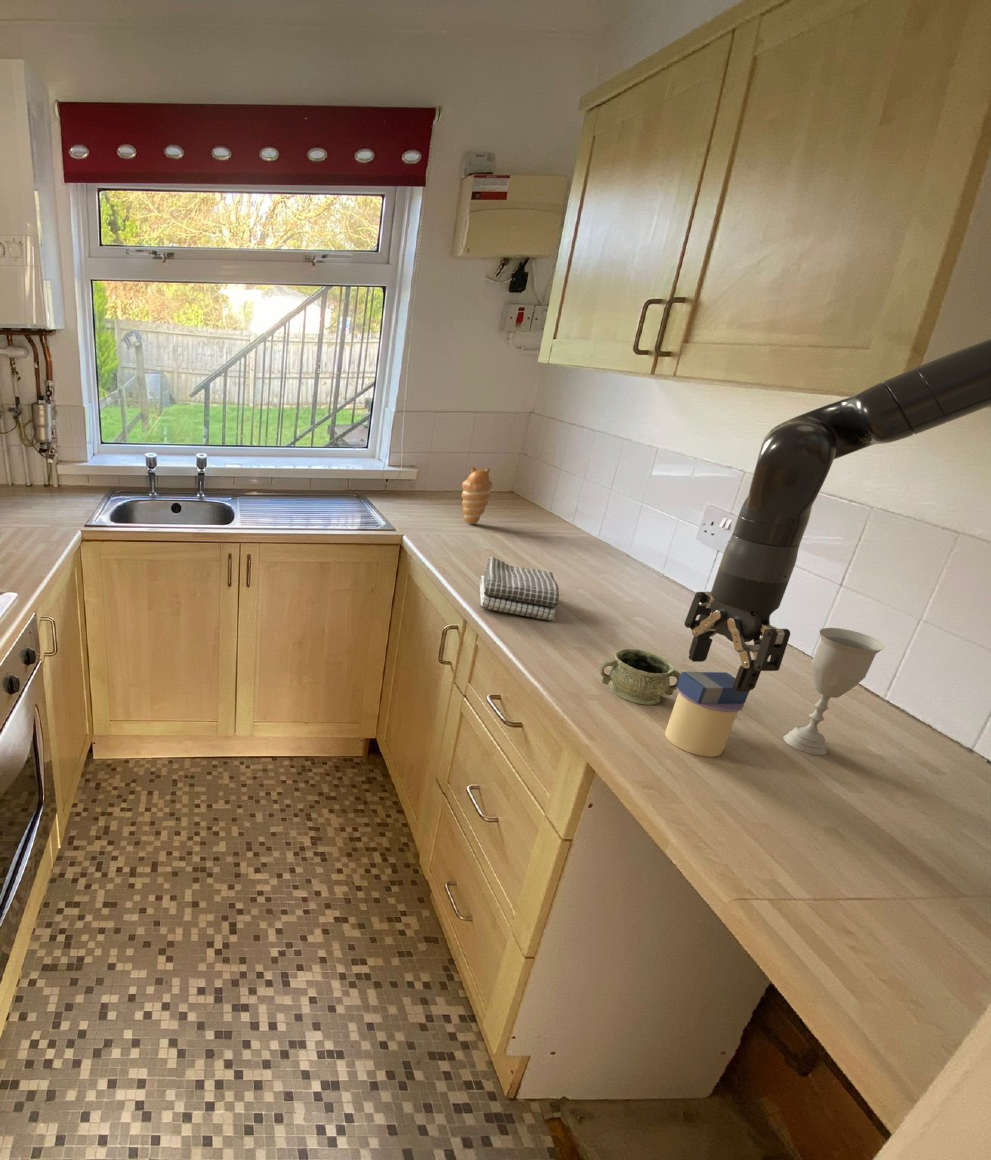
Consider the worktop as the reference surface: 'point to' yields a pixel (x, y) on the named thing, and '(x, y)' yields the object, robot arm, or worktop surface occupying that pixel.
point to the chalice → (834, 679)
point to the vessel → (640, 676)
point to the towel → (518, 590)
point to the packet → (710, 687)
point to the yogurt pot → (701, 725)
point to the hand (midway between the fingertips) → (717, 674)
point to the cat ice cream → (476, 494)
